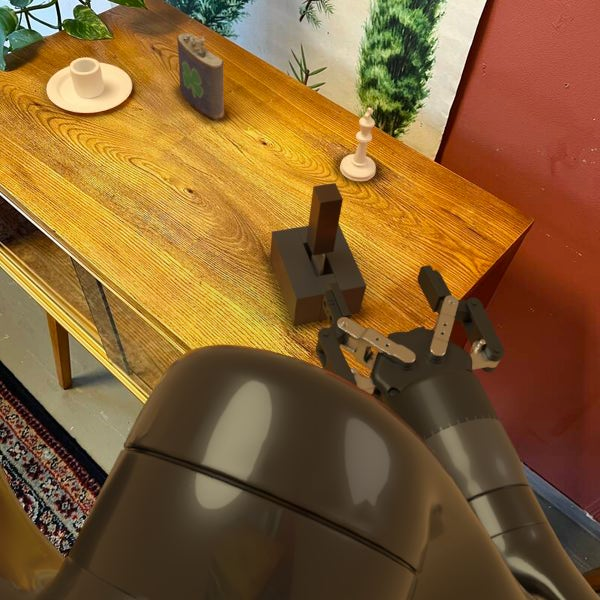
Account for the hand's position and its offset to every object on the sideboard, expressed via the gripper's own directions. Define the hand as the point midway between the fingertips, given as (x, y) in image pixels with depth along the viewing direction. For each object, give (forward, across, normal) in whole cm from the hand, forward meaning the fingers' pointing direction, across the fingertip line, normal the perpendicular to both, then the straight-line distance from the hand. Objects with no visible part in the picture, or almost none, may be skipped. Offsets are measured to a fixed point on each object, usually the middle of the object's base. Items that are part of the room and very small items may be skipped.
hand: (377, 280), depth 58 cm
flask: (+49, +6, +17) cm, 52 cm away
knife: (+13, 0, +17) cm, 21 cm away
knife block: (+13, 0, +17) cm, 21 cm away
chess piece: (+31, -12, +17) cm, 37 cm away
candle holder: (+55, +21, +17) cm, 61 cm away
